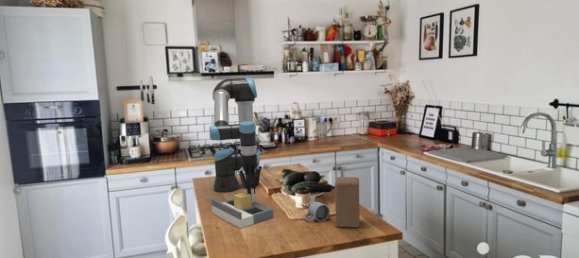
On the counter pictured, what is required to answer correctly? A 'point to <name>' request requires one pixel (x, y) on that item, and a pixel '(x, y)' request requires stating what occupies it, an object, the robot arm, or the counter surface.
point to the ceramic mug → (317, 212)
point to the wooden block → (347, 202)
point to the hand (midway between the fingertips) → (251, 201)
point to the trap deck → (241, 213)
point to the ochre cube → (242, 201)
